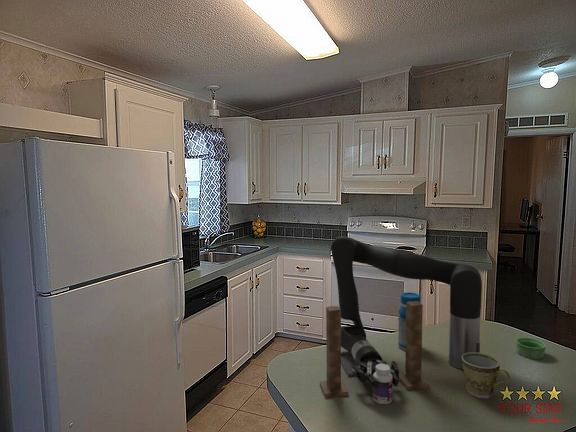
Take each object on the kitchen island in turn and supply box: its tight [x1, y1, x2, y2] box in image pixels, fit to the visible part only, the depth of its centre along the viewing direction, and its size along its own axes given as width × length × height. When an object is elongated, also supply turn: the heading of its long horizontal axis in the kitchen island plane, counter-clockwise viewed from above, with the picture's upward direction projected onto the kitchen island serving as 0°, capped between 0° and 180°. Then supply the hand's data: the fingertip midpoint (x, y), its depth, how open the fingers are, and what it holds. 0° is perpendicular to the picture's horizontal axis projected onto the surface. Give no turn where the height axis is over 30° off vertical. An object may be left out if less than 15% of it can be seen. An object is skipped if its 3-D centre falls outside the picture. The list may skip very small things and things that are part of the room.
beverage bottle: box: [397, 292, 421, 352], centre depth 143 cm, size 8×8×20 cm
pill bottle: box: [372, 364, 394, 405], centre depth 110 cm, size 5×5×10 cm
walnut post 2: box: [399, 301, 430, 391], centre depth 118 cm, size 7×7×25 cm
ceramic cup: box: [462, 352, 510, 400], centre depth 112 cm, size 13×10×10 cm
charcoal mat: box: [341, 355, 358, 377], centre depth 130 cm, size 12×12×1 cm
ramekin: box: [515, 337, 547, 360], centre depth 137 cm, size 9×9×4 cm
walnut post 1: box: [319, 305, 350, 399], centre depth 115 cm, size 7×7×25 cm
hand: (386, 383), depth 108 cm, fingers closed on pill bottle, 5 cm apart
